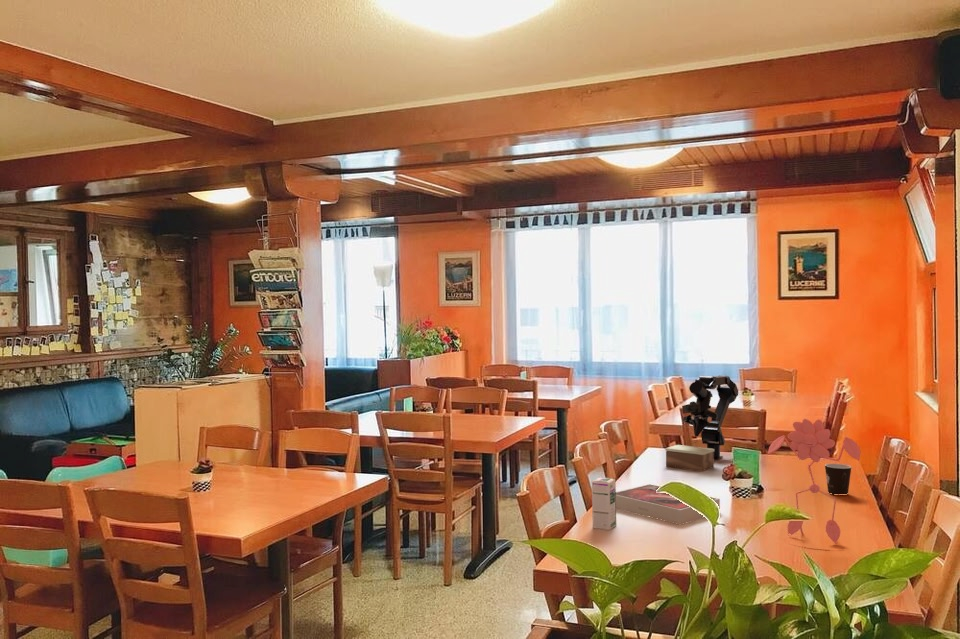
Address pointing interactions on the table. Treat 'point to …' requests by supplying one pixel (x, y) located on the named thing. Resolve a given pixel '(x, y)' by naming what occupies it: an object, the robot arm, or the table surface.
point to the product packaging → (656, 504)
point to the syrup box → (604, 503)
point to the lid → (689, 449)
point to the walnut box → (689, 460)
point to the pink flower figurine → (814, 460)
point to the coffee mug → (838, 478)
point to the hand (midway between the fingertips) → (696, 436)
